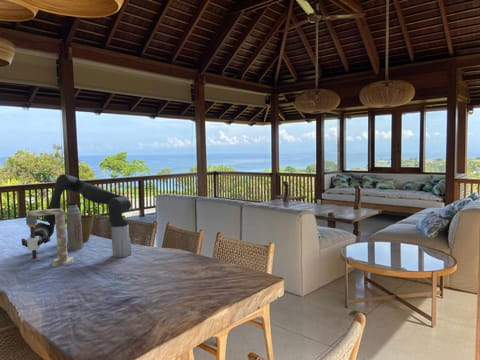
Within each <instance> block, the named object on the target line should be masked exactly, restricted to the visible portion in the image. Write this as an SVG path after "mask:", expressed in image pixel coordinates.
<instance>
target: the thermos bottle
mask: <svg viewBox="0 0 480 360" xmlns="http://www.w3.org/2000/svg"><path fill="white" fill-rule="evenodd" d="M67 205H68V206H67V207H68V208H67V209H66V213H65V223H66V238H67V251H77V250H81V249H83V248H84V245H83V243H84V242H82V226H81V215H82V213H81V211H80V208H79V207H78V202H70V203H68V204H67Z"/></svg>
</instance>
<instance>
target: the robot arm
mask: <svg viewBox="0 0 480 360" xmlns="http://www.w3.org/2000/svg"><path fill="white" fill-rule="evenodd" d="M64 191H67V192H74V193H77V194H80V195H81V196H82V197H83V198H84V199H85V200H87V201H89V202H91V203H96V204H101V205H107V211H108V220H109V222H110V227H111V228H110V229H111V230H110V231H111V244H112V245H111V247H112V248H111V249H112V257H113V258H126V257H129V256H130V255H132V242H131V241H132V240H131V238H130V231H129V230H130V227H129V220H128V219H127V218H124V217H123V213H126V212H128V211H129V210H130V209H131V207H132V203H131V200H130V199H129V198H128V197H127V196H125V195H121V194H118V193H114V192H111V191H109V190H107V189H104V188H102V187H100V186H97V185H95V184H92V183H88V182H85V181H83V180H81V179H79V178H78V177H76V176H72V175H69V174H64V173H63V174H61V175H59V176H58V178H56V182H55V185H54V188H53V192H52V195H51V199H50V200H49V204H48V206H47V209H61V208H62V201H61V198H62V194H63V192H64ZM47 209H46V210H47ZM43 220H44V221H46V222H47V223H48V224H47V223H45V222H37V223H36V226H35V227H34V230H35V236H39V240H38V242H37V245H38V246H39V245H40V246H41V245H43V244H48V243H49V242H50V241H51V237H52V236H53V234H54V232H55V227H56V222H55V215H43ZM29 237H31V234H30V235H29ZM21 245H22V247H25V248H28V246H27V239H26V238H21Z"/></svg>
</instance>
